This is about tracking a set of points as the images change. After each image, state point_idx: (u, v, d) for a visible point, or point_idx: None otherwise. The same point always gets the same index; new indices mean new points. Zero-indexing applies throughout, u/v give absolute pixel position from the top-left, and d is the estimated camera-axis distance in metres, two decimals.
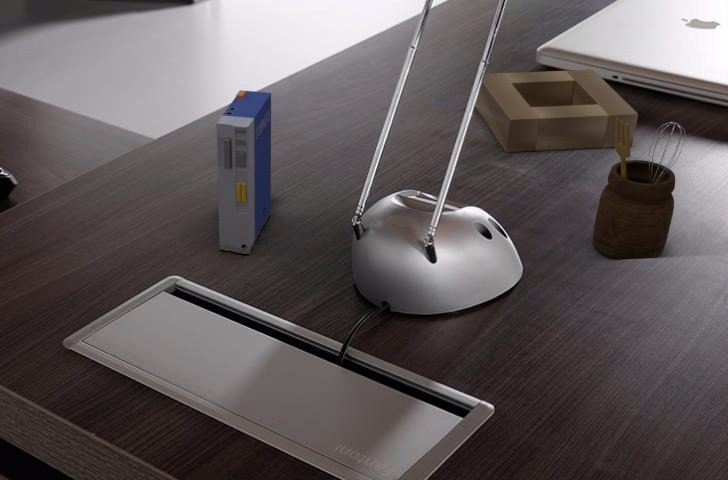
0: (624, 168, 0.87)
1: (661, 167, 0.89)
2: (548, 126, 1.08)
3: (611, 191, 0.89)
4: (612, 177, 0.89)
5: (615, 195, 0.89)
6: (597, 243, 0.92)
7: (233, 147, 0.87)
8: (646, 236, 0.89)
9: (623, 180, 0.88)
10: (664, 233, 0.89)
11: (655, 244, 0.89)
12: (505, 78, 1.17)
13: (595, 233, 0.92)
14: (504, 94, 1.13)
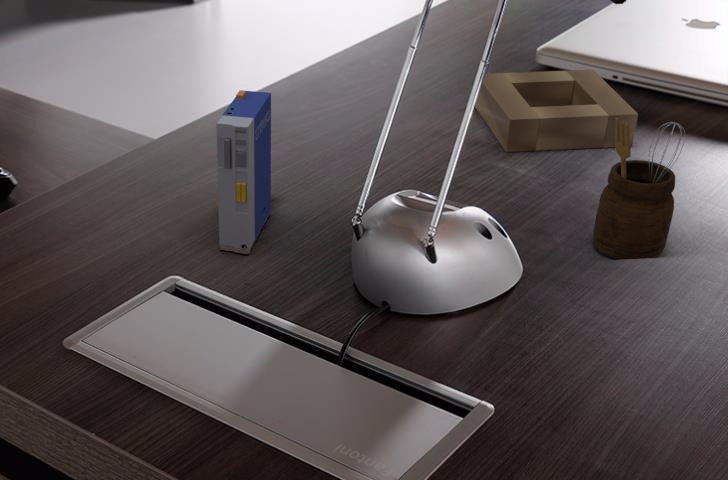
0: (624, 168, 0.87)
1: (662, 167, 0.89)
2: (548, 126, 1.08)
3: (611, 191, 0.89)
4: (612, 177, 0.89)
5: (615, 195, 0.89)
6: (597, 243, 0.92)
7: (233, 147, 0.87)
8: (646, 236, 0.89)
9: (623, 180, 0.88)
10: (664, 233, 0.89)
11: (655, 244, 0.89)
12: (505, 78, 1.17)
13: (595, 233, 0.92)
14: (504, 94, 1.13)
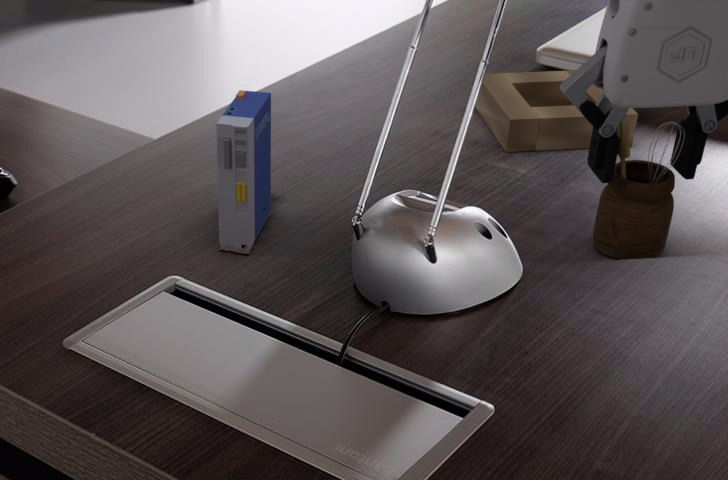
0: (624, 168, 0.87)
1: (661, 167, 0.89)
2: (548, 126, 1.08)
3: (610, 191, 0.89)
4: None
5: (614, 195, 0.89)
6: (597, 243, 0.92)
7: (233, 148, 0.87)
8: (646, 236, 0.89)
9: (623, 180, 0.88)
10: (664, 233, 0.89)
11: (655, 244, 0.89)
12: (505, 78, 1.17)
13: (595, 233, 0.92)
14: (504, 94, 1.13)
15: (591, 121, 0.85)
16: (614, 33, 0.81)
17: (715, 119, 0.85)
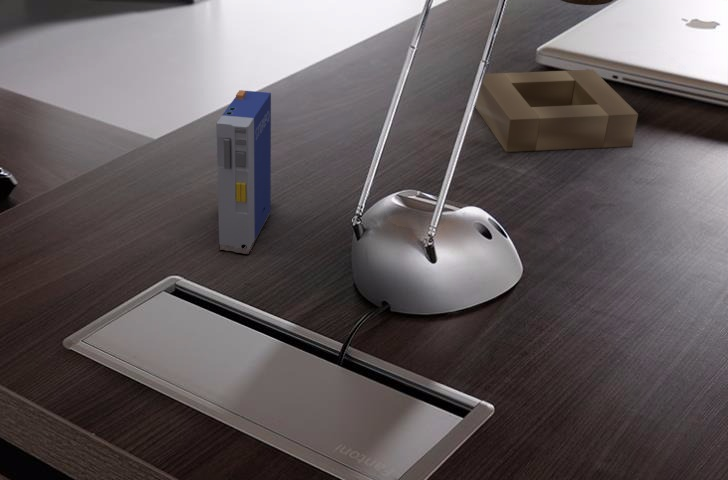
0: None
1: None
2: (548, 126, 1.08)
3: None
4: None
5: None
6: None
7: (233, 147, 0.87)
8: None
9: None
10: None
11: None
12: (505, 78, 1.17)
13: None
14: (504, 94, 1.13)
15: None
16: None
17: None
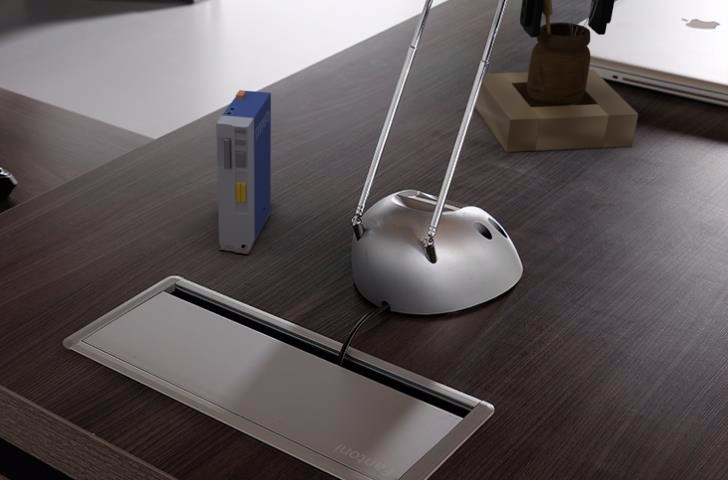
0: (548, 25, 1.08)
1: (580, 26, 1.10)
2: (548, 126, 1.08)
3: (539, 46, 1.10)
4: (539, 34, 1.10)
5: (542, 49, 1.10)
6: (529, 91, 1.12)
7: (233, 147, 0.87)
8: (567, 81, 1.09)
9: (548, 35, 1.08)
10: (582, 80, 1.10)
11: (575, 89, 1.10)
12: (505, 78, 1.17)
13: (528, 83, 1.13)
14: (504, 94, 1.13)
15: None
16: None
17: None
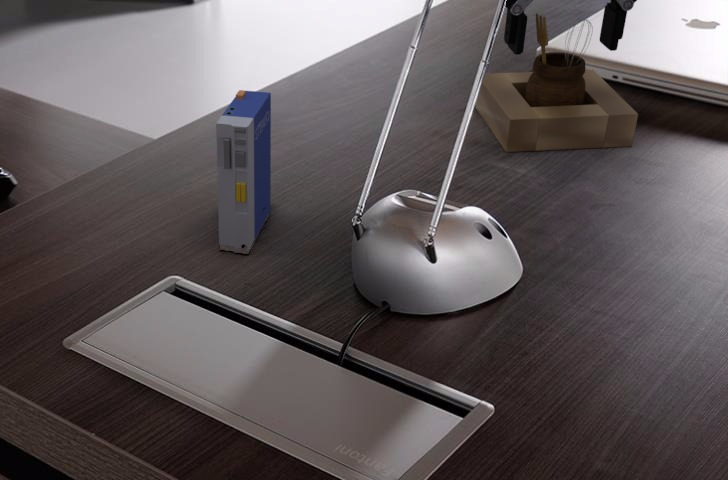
0: (544, 55, 1.10)
1: (576, 56, 1.12)
2: (548, 126, 1.08)
3: (535, 76, 1.12)
4: (535, 64, 1.11)
5: (538, 78, 1.12)
6: None
7: (233, 147, 0.87)
8: None
9: (543, 65, 1.10)
10: None
11: None
12: (505, 78, 1.17)
13: None
14: (504, 94, 1.13)
15: None
16: None
17: None
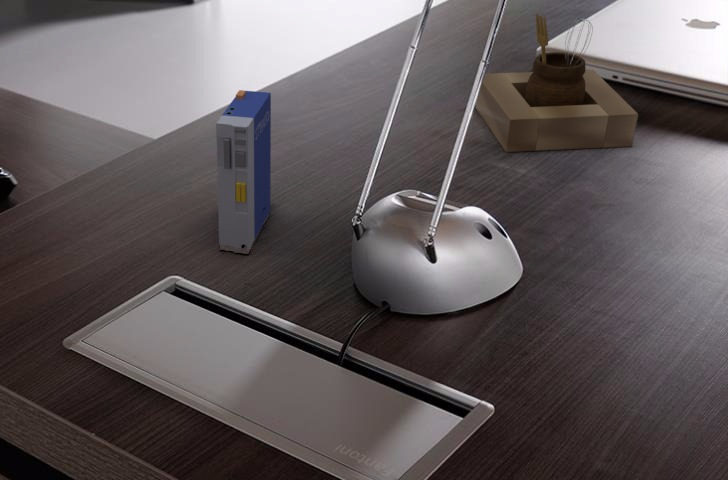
0: (544, 55, 1.10)
1: (576, 56, 1.12)
2: (548, 126, 1.08)
3: (535, 76, 1.12)
4: (535, 64, 1.11)
5: (538, 78, 1.12)
6: None
7: (233, 147, 0.87)
8: None
9: (543, 65, 1.10)
10: None
11: None
12: (505, 78, 1.17)
13: None
14: (504, 94, 1.13)
15: None
16: None
17: None
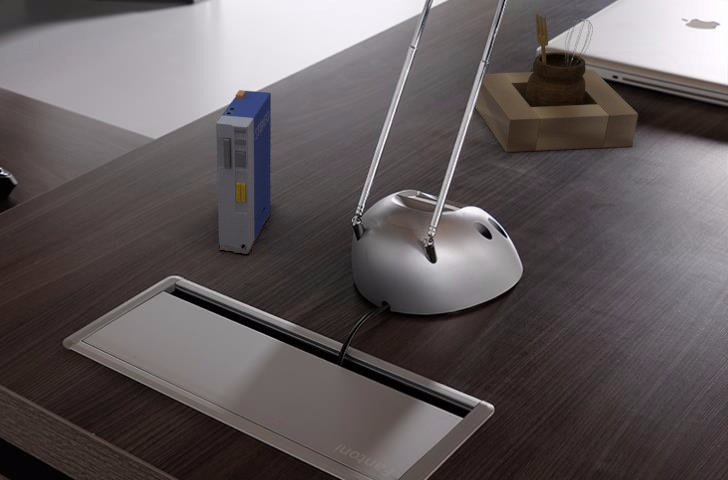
0: (544, 55, 1.10)
1: (576, 56, 1.12)
2: (548, 126, 1.08)
3: (535, 76, 1.12)
4: (535, 64, 1.11)
5: (538, 78, 1.12)
6: None
7: (233, 147, 0.87)
8: None
9: (543, 65, 1.10)
10: None
11: None
12: (505, 78, 1.17)
13: None
14: (504, 94, 1.13)
15: None
16: None
17: None
